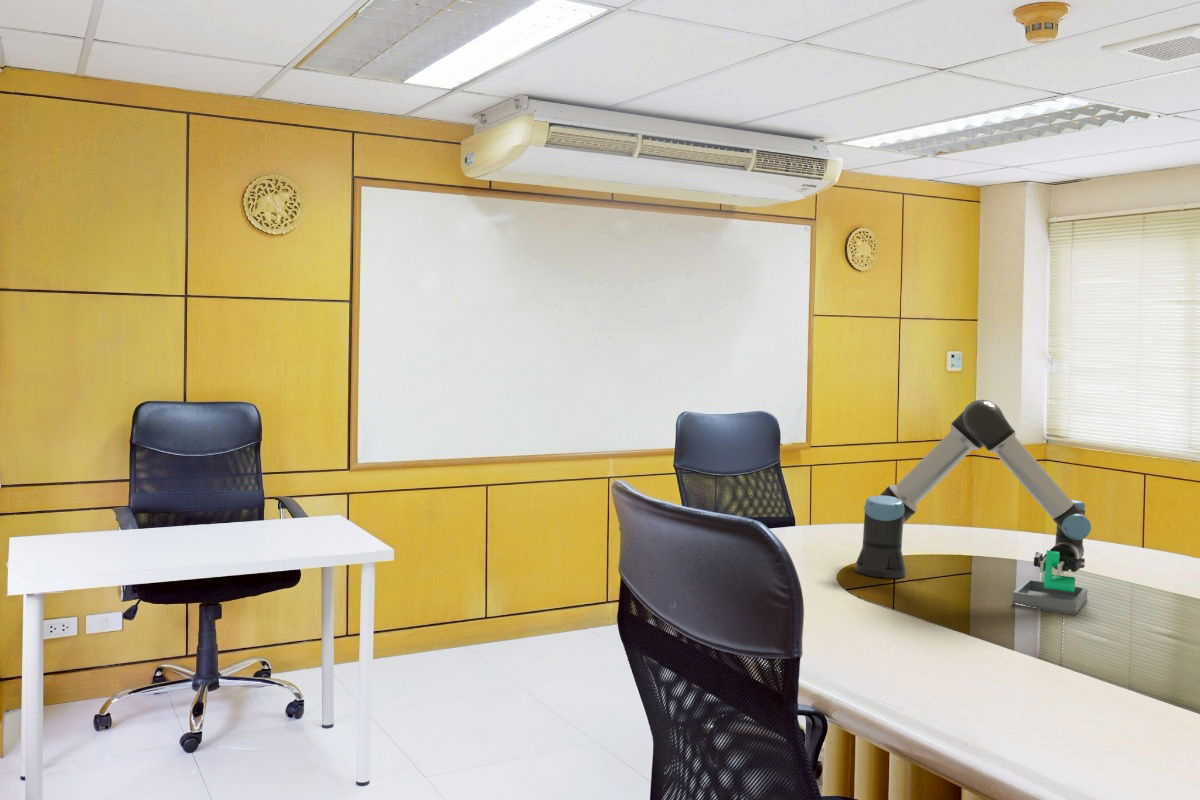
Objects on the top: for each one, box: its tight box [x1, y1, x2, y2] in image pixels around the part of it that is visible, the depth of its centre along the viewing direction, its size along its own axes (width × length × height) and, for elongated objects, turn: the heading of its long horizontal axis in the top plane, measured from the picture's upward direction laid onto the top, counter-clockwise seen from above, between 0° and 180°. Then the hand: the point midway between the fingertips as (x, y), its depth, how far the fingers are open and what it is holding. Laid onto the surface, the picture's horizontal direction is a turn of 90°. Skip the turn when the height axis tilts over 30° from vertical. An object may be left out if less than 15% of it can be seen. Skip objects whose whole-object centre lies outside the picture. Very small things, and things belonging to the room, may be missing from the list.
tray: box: [1011, 578, 1088, 616], centre depth 280 cm, size 16×22×4 cm
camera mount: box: [1043, 550, 1076, 592], centre depth 277 cm, size 12×8×10 cm, turn 154°
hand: (1050, 568), depth 275 cm, fingers closed on camera mount, 4 cm apart
